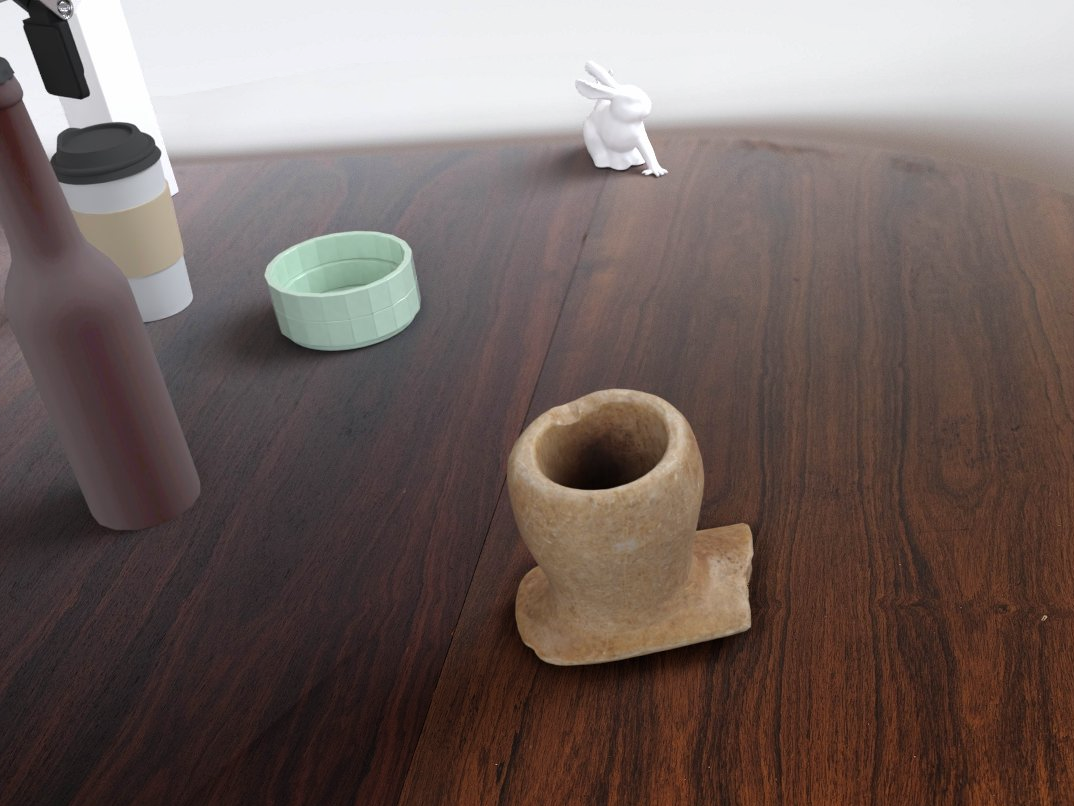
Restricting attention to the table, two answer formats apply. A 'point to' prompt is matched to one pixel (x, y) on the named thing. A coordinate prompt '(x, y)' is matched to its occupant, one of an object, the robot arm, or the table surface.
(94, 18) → the milk
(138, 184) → the coffee cup
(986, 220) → the table surface
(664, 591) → the stone cup
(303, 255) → the bowl
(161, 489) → the beer bottle
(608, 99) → the rabbit figurine
